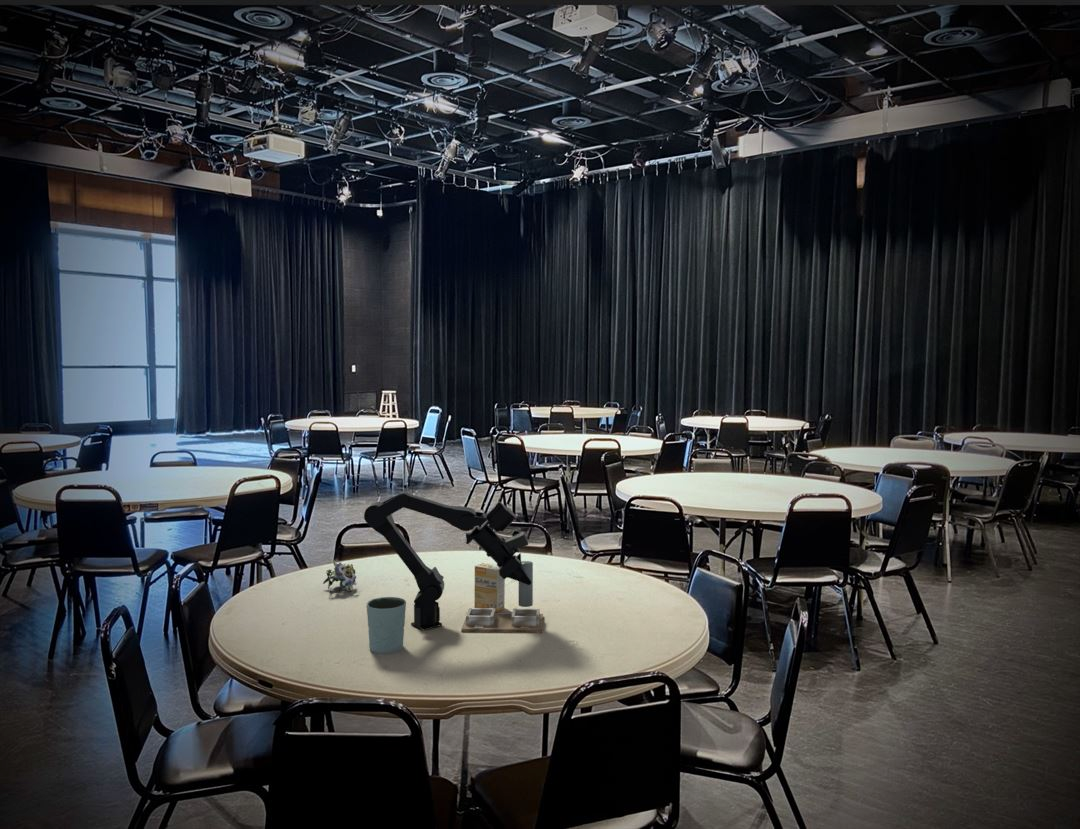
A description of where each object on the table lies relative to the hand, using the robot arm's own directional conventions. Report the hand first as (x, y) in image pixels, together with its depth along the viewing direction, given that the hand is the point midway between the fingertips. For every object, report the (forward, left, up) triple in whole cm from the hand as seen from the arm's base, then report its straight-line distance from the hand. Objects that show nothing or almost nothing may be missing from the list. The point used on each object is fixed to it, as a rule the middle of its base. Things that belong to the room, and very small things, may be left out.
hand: (530, 581), depth 222 cm
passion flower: (-22, +69, -12) cm, 73 cm away
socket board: (-5, +5, -12) cm, 14 cm away
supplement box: (+1, +19, -12) cm, 23 cm away
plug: (-1, +1, -7) cm, 7 cm away
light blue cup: (-40, +11, -12) cm, 43 cm away
